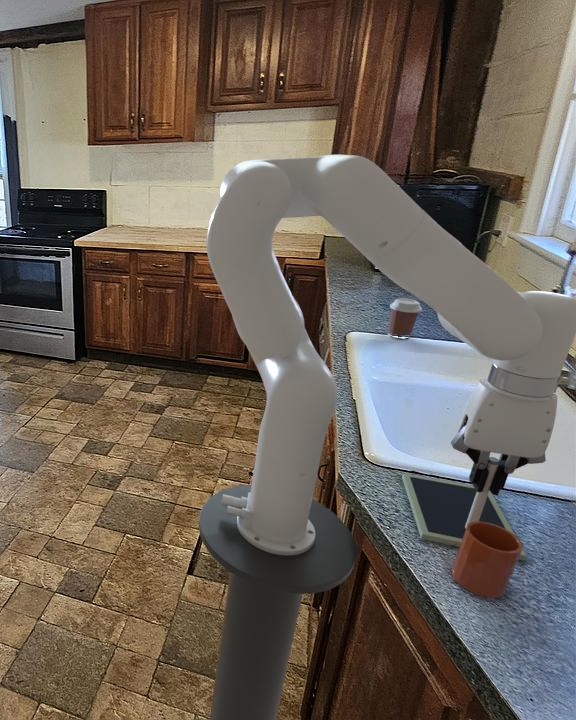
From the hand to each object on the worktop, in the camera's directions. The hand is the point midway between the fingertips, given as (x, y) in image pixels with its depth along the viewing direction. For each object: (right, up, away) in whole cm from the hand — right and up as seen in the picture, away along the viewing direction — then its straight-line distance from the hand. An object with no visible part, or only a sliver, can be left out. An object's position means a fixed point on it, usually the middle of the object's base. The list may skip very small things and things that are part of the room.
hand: (484, 488), depth 81 cm
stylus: (0, -7, +3) cm, 8 cm away
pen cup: (-4, -12, -5) cm, 14 cm away
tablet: (+2, -7, +9) cm, 11 cm away
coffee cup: (+41, +27, +94) cm, 106 cm away
